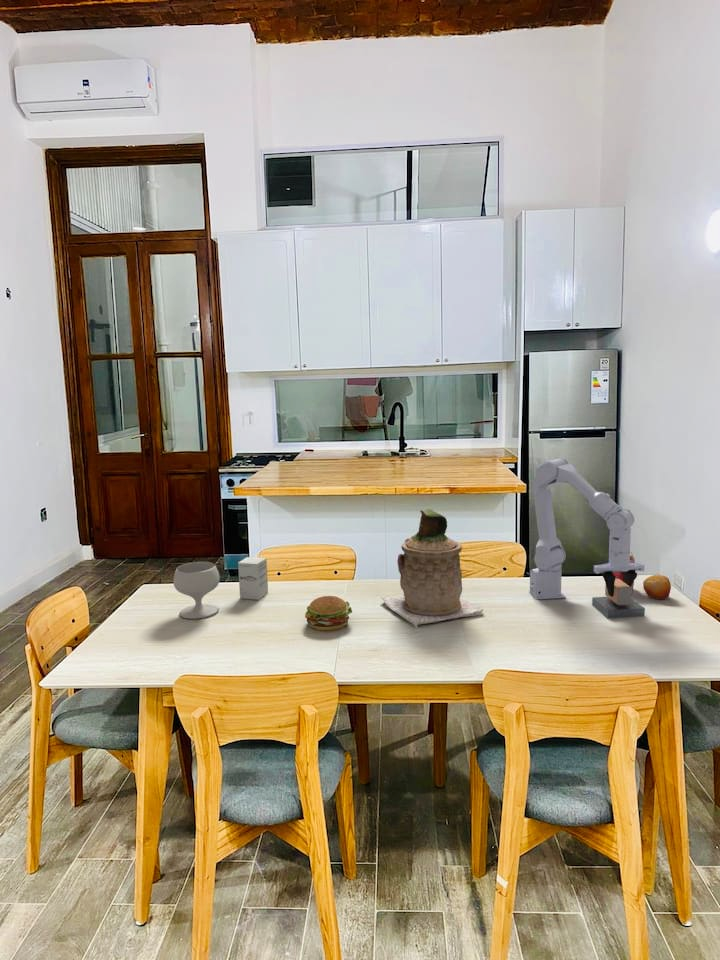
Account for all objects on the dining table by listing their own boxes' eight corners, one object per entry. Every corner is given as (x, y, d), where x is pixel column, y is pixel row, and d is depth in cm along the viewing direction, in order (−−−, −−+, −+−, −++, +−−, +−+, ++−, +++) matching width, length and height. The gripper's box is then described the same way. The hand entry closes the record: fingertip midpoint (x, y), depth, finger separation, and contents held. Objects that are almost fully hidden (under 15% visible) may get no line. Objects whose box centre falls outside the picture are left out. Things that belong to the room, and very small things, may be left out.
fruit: (681, 593, 205) (672, 574, 202) (664, 609, 203) (655, 590, 200) (661, 586, 212) (652, 567, 209) (644, 601, 210) (635, 582, 208)
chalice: (195, 624, 197) (192, 576, 194) (167, 615, 205) (163, 569, 203) (231, 610, 208) (227, 564, 205) (202, 602, 216) (199, 558, 214)
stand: (607, 618, 190) (607, 610, 190) (592, 605, 201) (592, 597, 201) (644, 616, 191) (644, 608, 191) (627, 603, 202) (627, 595, 201)
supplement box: (239, 599, 218) (236, 562, 216) (249, 591, 225) (247, 556, 223) (259, 600, 216) (257, 563, 214) (269, 593, 223) (267, 557, 221)
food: (348, 634, 186) (347, 607, 185) (300, 631, 189) (299, 605, 187) (358, 616, 199) (357, 591, 198) (313, 614, 202) (312, 589, 201)
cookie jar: (486, 615, 197) (486, 510, 191) (413, 629, 188) (410, 520, 182) (445, 590, 219) (444, 496, 214) (378, 602, 210) (375, 505, 205)
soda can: (635, 587, 216) (636, 551, 214) (631, 593, 210) (632, 557, 208) (613, 584, 220) (614, 549, 218) (608, 590, 214) (609, 554, 212)
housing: (605, 595, 200) (605, 579, 199) (618, 594, 200) (618, 578, 199) (618, 605, 191) (618, 588, 190) (631, 604, 191) (632, 588, 191)
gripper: (601, 555, 189) (599, 600, 191) (650, 553, 190) (648, 598, 192) (591, 549, 196) (590, 592, 198) (638, 546, 197) (636, 590, 199)
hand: (618, 594), depth 195 cm, fingers closed on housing, 4 cm apart
